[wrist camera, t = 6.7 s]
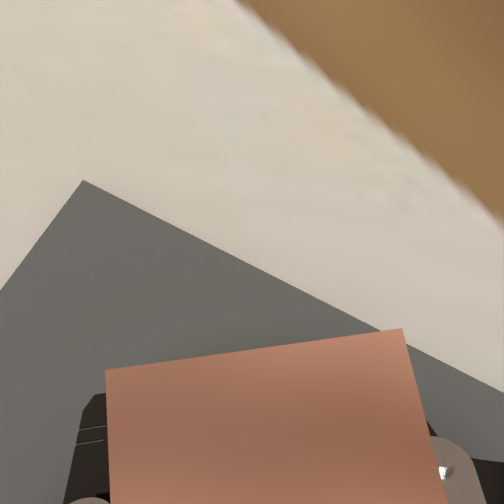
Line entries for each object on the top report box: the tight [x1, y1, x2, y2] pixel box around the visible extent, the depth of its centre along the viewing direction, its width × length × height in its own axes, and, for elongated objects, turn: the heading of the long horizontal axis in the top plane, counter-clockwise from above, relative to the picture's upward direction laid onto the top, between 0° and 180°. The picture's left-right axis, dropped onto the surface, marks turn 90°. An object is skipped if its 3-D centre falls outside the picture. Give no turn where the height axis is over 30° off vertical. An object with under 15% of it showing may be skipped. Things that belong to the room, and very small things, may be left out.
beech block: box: [105, 328, 448, 504], centre depth 11 cm, size 4×5×9 cm
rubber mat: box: [0, 180, 504, 504], centre depth 15 cm, size 22×14×1 cm, turn 64°
